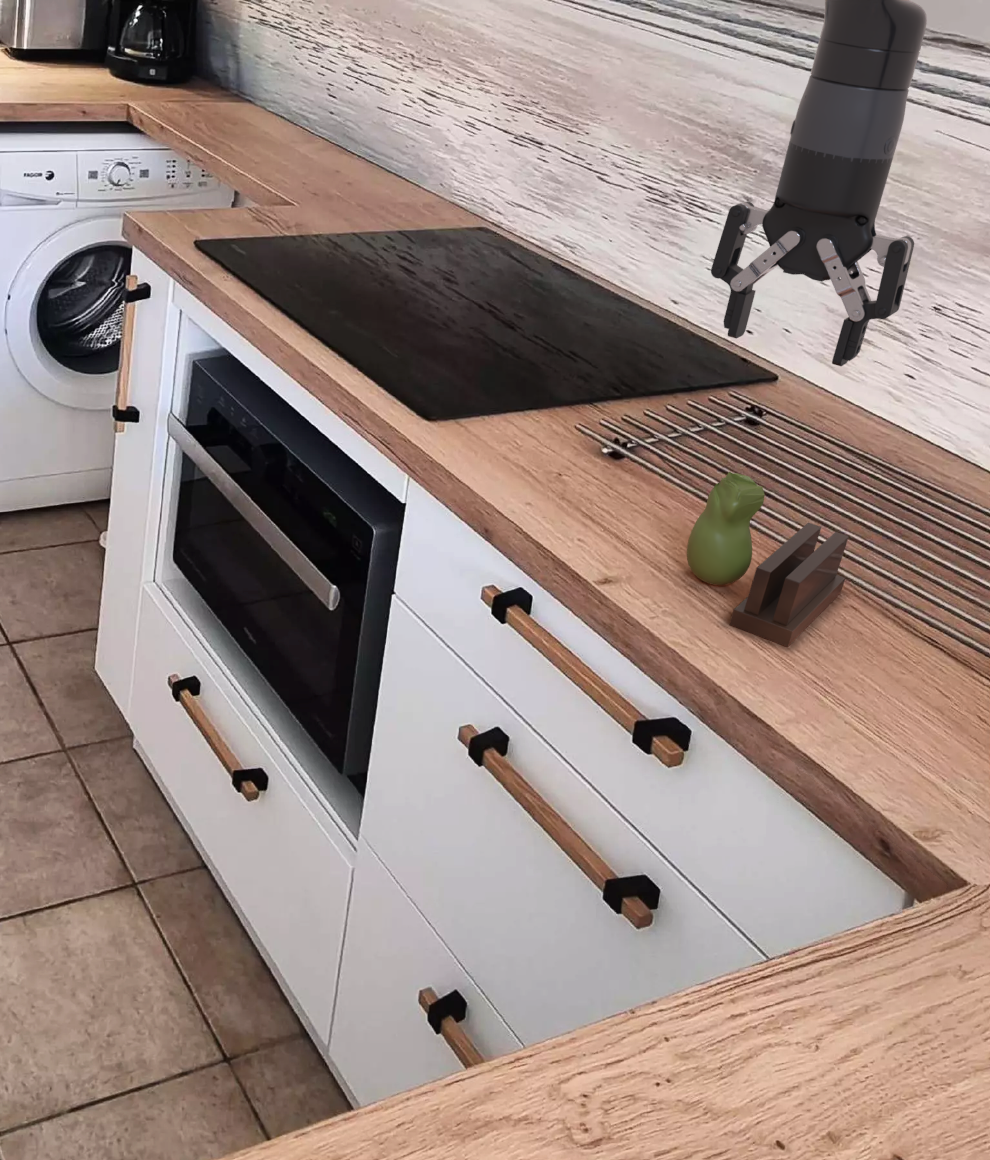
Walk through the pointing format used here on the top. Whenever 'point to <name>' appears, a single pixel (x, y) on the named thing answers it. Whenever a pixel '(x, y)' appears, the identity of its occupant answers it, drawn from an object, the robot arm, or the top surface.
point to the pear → (725, 531)
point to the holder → (792, 587)
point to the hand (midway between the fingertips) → (786, 349)
